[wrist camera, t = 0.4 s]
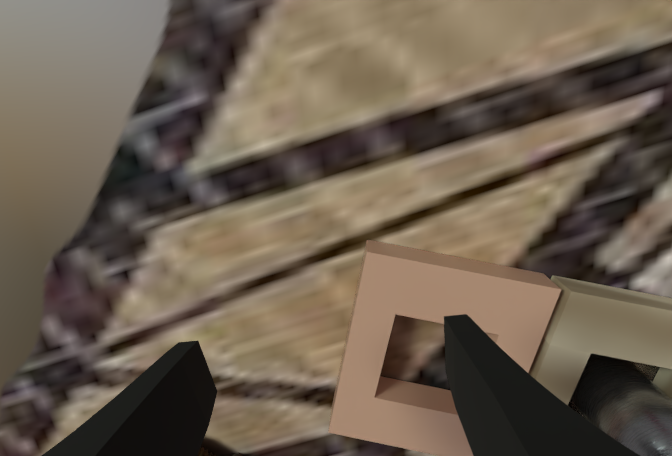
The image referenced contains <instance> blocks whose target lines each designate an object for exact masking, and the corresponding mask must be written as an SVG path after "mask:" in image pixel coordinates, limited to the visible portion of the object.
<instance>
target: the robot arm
mask: <svg viewBox="0 0 672 456" xmlns="http://www.w3.org/2000/svg"><path fill="white" fill-rule="evenodd" d="M444 333H445V361H446V374H447V378H448V382H449V386H450V390H451V393H452V397H453V401H454V405H455V408H456V411H457V413H458V416H459V419H460V421H461V424H462V427H463V429H464V432H465V435H466V437H467V440H468V443H469V445H470V448H471V450H472V453H473V456H640V455H638V454H637V453H635V452H634V451H632V450H630V449H629V448H627V447H626V446H624V445H622V444H621V443H619V442H618V441H616V440H615V439H613V438H612V437H611V436H609V435H608V434H606V433H605V432H603V431H602V430H600V429H599V428H597V427H596V426H595V425H593V424H592V423H591V422H589V421H588V420H586V419H585V418H584V417H582V416H581V415H579V414H578V413H577V412H575V411H574V410H573V409H572V408H570V407H569V406H568V405H566V404H565V403H564V402H562V401H561V400H560V399H559V398H557V397H556V396H555V395H554V394H552V393H551V392H550V391H549V390H548V389H546V388H545V387H544V386H543V385H541V384H540V383H539V382H538V381H537V380H536V379H534V378H533V377H532V376H531V375H530V374H529V373H527V372H526V371H525V370H524V369H523V368H522V367H521V366H520V365H519V364H517V363H516V362H515V361H514V360H513V359H512V358H511V357H510V356H509V355H507V354H506V353H505V352H504V351H503V350H502V349H501V348H500V347H499V346H498V345H497V344H496V343H495V342H494V341H493V340H492V339H491V338H490V337H489V336H488V335H487V334H486V333H485V332H484V331H483V330H482V329H481V328H480V327H479V326H478V325H477V324H476V323H475V322H474V321H473V320H472V319H471V318H470V317H469V316H468V315H467V314H463V315H452V316H444ZM216 394H217V389H216V387H215V384H214V382H213V379H212V376H211V374H210V371H209V368H208V366H207V363H206V360H205V358H204V355H203V352H202V350H201V347H200V344H199V342H198V341H190V342H180V343H178V344H176V345H175V346H174V347H172V348H171V349H170V350H169V351H168V352H166V353H165V354H164V355H163V356H162V357H161V358H159V359H158V360H157V361H156V362H155V363H154V364H153V365H151V366H150V367H149V368H148V369H147V370H146V371H145V372H144V373H142V374H141V375H140V376H139V377H138V378H137V379H136V380H134V381H133V382H132V383H131V384H130V385H129V386H128V387H126V388H125V389H124V390H123V391H122V392H121V393H120V394H118V395H117V396H116V397H115V398H114V399H113V400H111V401H110V402H109V403H108V404H107V405H105V406H104V407H103V408H102V409H101V410H99V411H98V412H97V413H96V414H94V415H93V416H92V417H91V418H90V419H88V420H87V421H86V422H85V423H84V424H82V425H81V426H80V427H79V428H77V429H76V430H75V431H74V432H72V433H71V434H70V435H69V436H67V437H66V438H65V439H63V440H62V441H61V442H60V443H58V444H57V445H56V446H54V447H53V448H52V449H50V450H49V451H47V452H46V453H45V454H43V455H42V456H197V455H198V452H199V450H200V447H201V444H202V442H203V439H204V437H205V434H206V431H207V428H208V426H209V422H210V418H211V415H212V411H213V407H214V403H215V398H216Z"/></svg>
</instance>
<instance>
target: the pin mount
mask: <svg viewBox="0 0 672 456" xmlns="http://www.w3.org/2000/svg"><path fill="white" fill-rule="evenodd" d="M551 281H552V282H553V283H555V284H556V285H557V286H558V287H559V288H560V289H561V292H560V294H559V297H558V299H557V302H556V304H555V307H554V309H553V312H552V315H551V317H550V320H549V322H548V325H547V327H546V330H545V332H544V335H543V337H542V340H541V342H540V345H539V347H538V350H537V352H536V355H535V357H534V360H533V362H532V365H531V367H530V370H529V372H528V373H529V374H530V375H531V376H532V377H533V378H534V379H536V380H537V381H538V382H539V383H540V384H541V385H543V386H544V387H545V388H546V389H548V390H549V391H550V392H551V393H552V394H554V395H555V396H556V397H557V398H559V399H560V400H561V401H562V402H564V403H565V404H566V405H568V404H569V401H570V399H571V397H572V395H573V392H574V390H575V388H576V386H577V384H578V381H579V379H580V377H581V375H582V372H583V370H584V368H585V366H586V364H587V361H588V359H589V357H590V355H591V353H593V354H598V355H603V356H608V357H613V358H618V359H623V360H628V361H633V362H638V363H643V364H648V365H653V366H658V367H660V368H659V370H658V372H657V374H656V376H655V378H654V380H653V383H654V384H655V385H656V386H657V387H659V388H660V389H661V390H662V391H663V392H664V393H665V394H666V395H667V396H668V397H669V398H671V399H672V298H668V297H662V296H657V295H652V294H647V293H642V292H636V291H631V290H626V289H621V288H616V287H611V286H605V285H600V284H595V283H590V282H585V281H579V280H574V279H569V278H564V277H559V276H553V275H552V277H551ZM585 419H586V418H585Z"/></svg>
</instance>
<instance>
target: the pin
mask: <svg viewBox="0 0 672 456" xmlns="http://www.w3.org/2000/svg"><path fill="white" fill-rule="evenodd" d="M571 399H572V400H573V402H574V403H575V404H576V406H577V407H578V409H579V410H580V411H581V413H582V414H583V415H584V417H585V418H586V420H588V421H589V422H591V423H592V424H593V425H595V426H596V427H597V428H599V429H600V430H602V431H603V432H605V433H606V434H608V435H609V436H611V437H612V438H613V439H615V440H616V441H618V442H619V443H621V444H622V445H624V446H626V447H627V448H629V449H630V450H632V451H634V452H635V453H637V454H638V455H640V456H672V399H671V398H669V397H668V396H667V395H666V394H665V393H664V392H663V391H662V390H661V389H660V388H659V387H657V386H656V385H655V384H654V383H653V382H652V381H651V380H650V379H649V378H648V377H647V376H646V375H644V374H643V373H642V372H641V371H640V370H639V369H638V368H637V367H636V366H635V365H634V364H633V363H631V362H630V361H628V360H623V359H618V358H613V357H608V356H603V355H598V354H591V355H590V357H589V359H588V361H587V364H586V366H585V368H584V370H583V372H582V375H581V377H580V379H579V381H578V384H577V386H576V388H575V390H574V392H573V395H572V397H571Z"/></svg>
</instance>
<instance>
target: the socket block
mask: <svg viewBox="0 0 672 456" xmlns="http://www.w3.org/2000/svg"><path fill="white" fill-rule="evenodd" d="M560 292H561V289H560V288H559V287H558V286H557V285H556V284H555V283H553V282H552V281H551V280H550V279H549V278H548V277H547V276H545V275H544V274H543V273H538V272H533V271H527V270H522V269H517V268H512V267H507V266H501V265H496V264H491V263H486V262H481V261H476V260H470V259H465V258H460V257H455V256H450V255H444V254H439V253H434V252H429V251H424V250H418V249H413V248H408V247H403V246H398V245H392V244H387V243H382V242H377V241H372V240H367V242H366V247H365V251H364V256H363V261H362V266H361V270H360V275H359V280H358V285H357V289H356V294H355V299H354V304H353V308H352V313H351V318H350V323H349V327H348V332H347V337H346V342H345V346H344V351H343V356H342V361H341V365H340V370H339V375H338V380H337V384H336V389H335V394H334V399H333V403H332V408H331V416H330V424H329V433H333V434H338V435H343V436H348V437H352V438H357V439H362V440H367V441H371V442H376V443H381V444H386V445H390V446H395V447H400V448H405V449H409V450H414V451H419V452H424V453H428V454H433V455H438V456H473V453H472V450H471V448H470V445H469V443H468V440H467V437H466V435H465V432H464V429H463V427H462V424H461V421H460V419H459V416H458V413H457V411H456V408H455V405H454V401H453V397H452V393H451V391H450V390H446V389H441V388H436V387H431V386H426V385H421V384H416V383H411V382H406V381H402V380H397V379H392V378H387V377H382V376H380V373H381V369H382V366H383V362H384V358H385V354H386V350H387V346H388V342H389V338H390V334H391V330H392V326H393V322H394V318H395V314H396V315H401V316H406V317H411V318H417V319H422V320H427V321H432V322H437V323H442V324H444V316H452V315H463V314H467V315H468V316H469V317H470V318H471V319H472V320H473V321H474V322H475V323H476V324H477V325H478V326H479V327H480V328H481V329H482V330H483V331H484V332H485V333H486V334H487V335H488V336H489V337H490V338H491V339H492V340H493V341H494V342H495V343H496V344H497V345H498V346H499V347H500V348H501V349H502V350H503V351H504V352H505V353H506V354H507V355H509V356H510V357H511V358H512V359H513V360H514V361H515V362H516V363H517V364H519V365H520V366H521V367H522V368H523V369H524V370H525V371H526V372H527V373H528V372H529V370H530V367H531V365H532V362H533V360H534V357H535V355H536V352H537V350H538V347H539V345H540V342H541V340H542V337H543V335H544V332H545V330H546V327H547V325H548V322H549V320H550V317H551V315H552V312H553V309H554V307H555V304H556V302H557V299H558V297H559V294H560Z"/></svg>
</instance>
